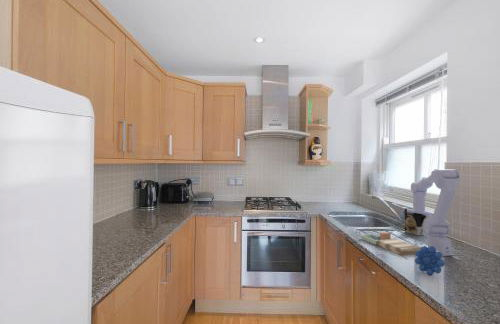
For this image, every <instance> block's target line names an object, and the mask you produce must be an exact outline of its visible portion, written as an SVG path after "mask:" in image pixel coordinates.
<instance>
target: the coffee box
mask: <svg viewBox="0 0 500 324" xmlns="http://www.w3.org/2000/svg"><path fill="white" fill-rule="evenodd" d="M407 209H413V207H412V208H411V207H409V208H408V207H407V208H404V233H407V234H410V235H415V236H424V229H423V225H424V222H423V223H422V227H417V225H416V222H415V220H414V218H413V216H412V214H414V213H410V212H407ZM420 214H421V213H420Z"/></svg>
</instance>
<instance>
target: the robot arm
mask: <svg viewBox="0 0 500 324" xmlns="http://www.w3.org/2000/svg"><path fill="white" fill-rule="evenodd" d="M430 173H431V174H430V175H429V176H427V177H425V176H424V177H422V178H421V179H419V180H418V181H417V182H411V184H410V191H411V192H412V209H407V212H410V213H414V214H412V216H413V218H414V220H415V222H416V225H417V227H422V223H423V232H425V234H426V235H427V248H428V247H429V246H433V247H435V249H436V251H439V252H441V253H442V255H443V256H442V257H447V256H448V257H449V256H453V255H454V254H453V253H452V251H453V248H452V240H451V239H450V238H448V237H447V236H448V235H449V233H450V229H451V228H450V226H451V223H450V222H449V221H448V220H447V217H448V213H449V212H450V209H451V205H452V202H453V200H454V197H455V194H456V191H457V189H458V187H459V184H460V181H461V179H462V177H461V174H460V172H459V170H458V169H455V168H453V169H451V168H449V169H447V168H445V169H438V168H435V169H433V170H431V172H430ZM433 184H434V185H435V187H436V188H437V189H439V190H440V192H439V195H438V198H437V202H436V205H435V207H434V211H433V213H432V212H429V211H426V198H425V197H426V195H427V191H428V189H430V188H431V187H433ZM420 213H421V214H420ZM427 217H428V218H427ZM425 219H426V220H425ZM424 221H425V222H424Z"/></svg>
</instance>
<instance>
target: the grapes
mask: <svg viewBox="0 0 500 324" xmlns="http://www.w3.org/2000/svg"><path fill="white" fill-rule="evenodd" d="M420 247H421V248H420V250H417V251H416V253H415V254H414V255H415V256H416V258H415V259H414V264H415V263H416V265H418V269H419V271H421V272H423V273H424V272H425V273H426V274H427V275H429V276H432V275H434V274H440V273H441V272H442V268H443V267H444V266H445V264H446V263H445V261H444V260H443V259H442V258H443V257H444V256H443V255H442V253H441V252H439V251H436V249H435V247H433V246H429V247H428V246H426V245H422V246H420Z"/></svg>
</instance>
